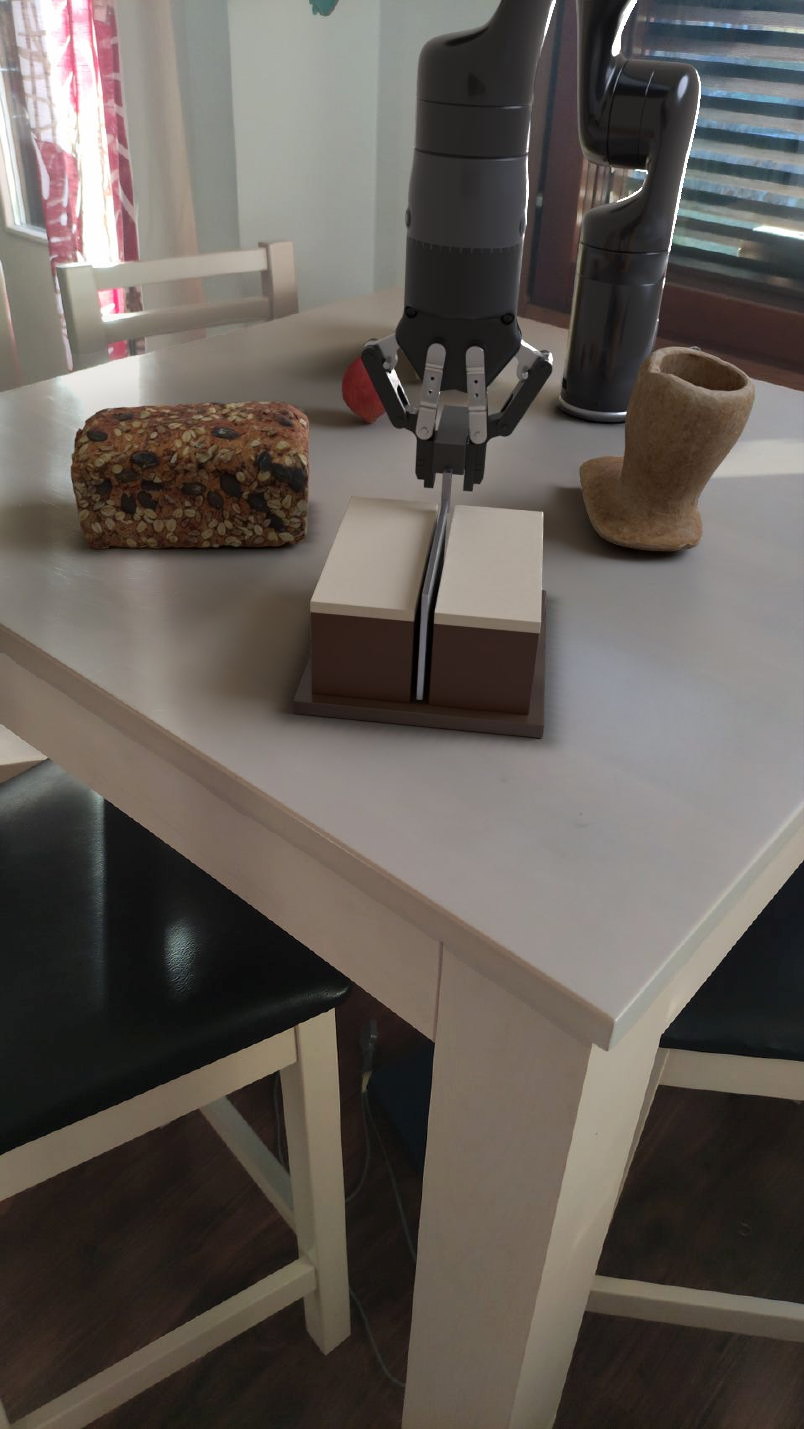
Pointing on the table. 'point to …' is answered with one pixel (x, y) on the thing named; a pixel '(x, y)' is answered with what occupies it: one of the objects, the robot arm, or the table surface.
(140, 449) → the bread
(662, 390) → the stone cup
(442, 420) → the knife
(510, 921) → the table surface
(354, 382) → the onion
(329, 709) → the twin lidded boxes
